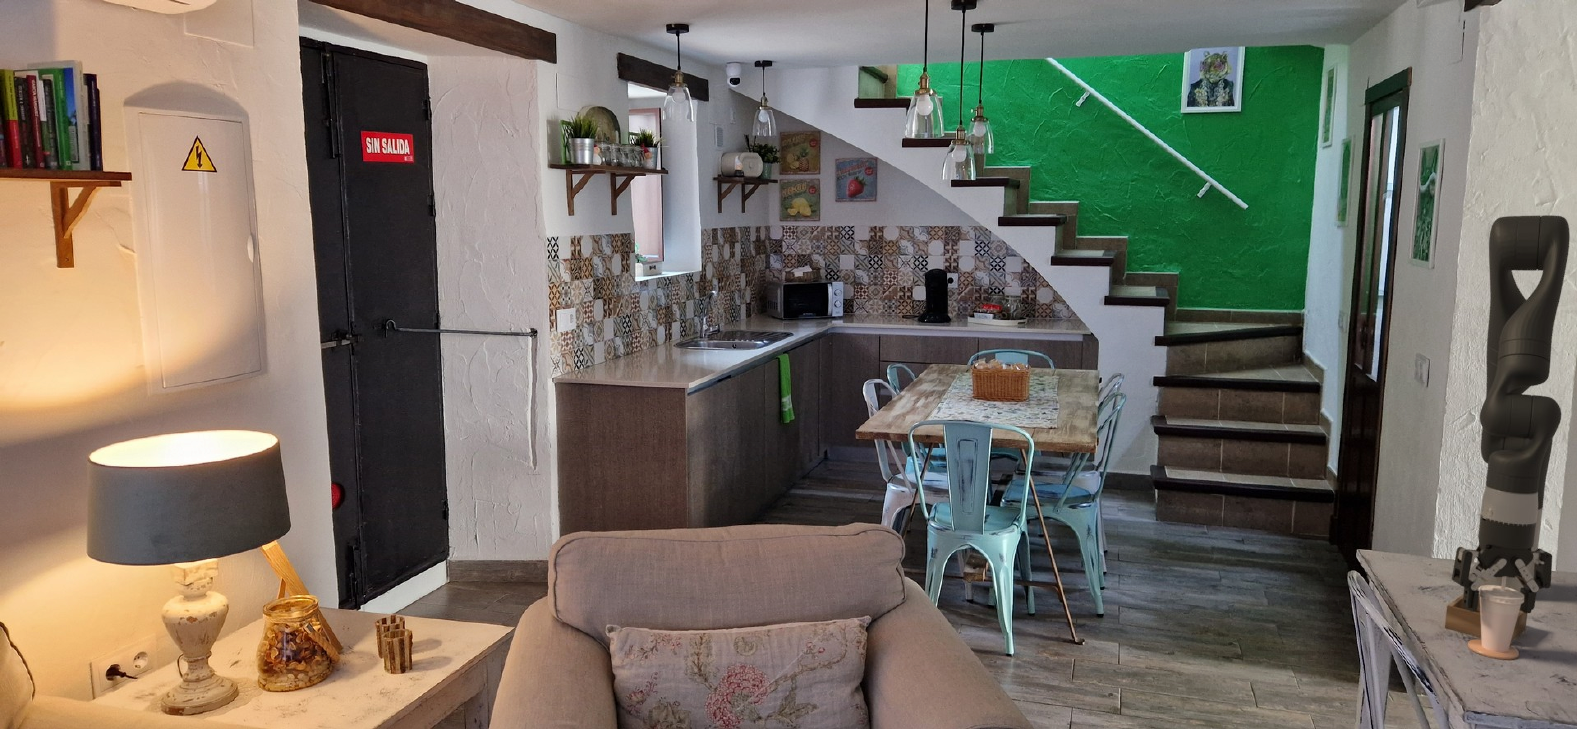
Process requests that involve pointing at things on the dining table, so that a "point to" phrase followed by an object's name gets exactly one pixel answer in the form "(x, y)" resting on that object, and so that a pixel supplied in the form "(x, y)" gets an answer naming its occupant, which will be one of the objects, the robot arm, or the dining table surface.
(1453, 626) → the caddy
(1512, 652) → the coaster
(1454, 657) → the dining table surface
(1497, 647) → the smoothie
